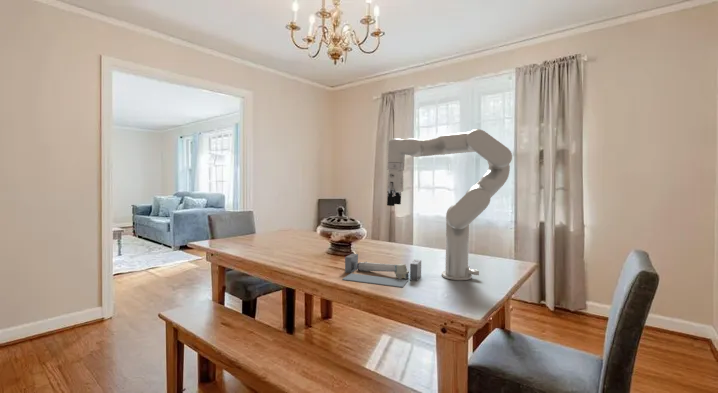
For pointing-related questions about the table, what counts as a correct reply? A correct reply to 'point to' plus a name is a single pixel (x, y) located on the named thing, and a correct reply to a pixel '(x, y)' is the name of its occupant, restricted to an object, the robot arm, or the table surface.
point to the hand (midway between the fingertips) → (394, 204)
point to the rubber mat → (376, 280)
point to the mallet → (385, 268)
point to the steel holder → (352, 263)
